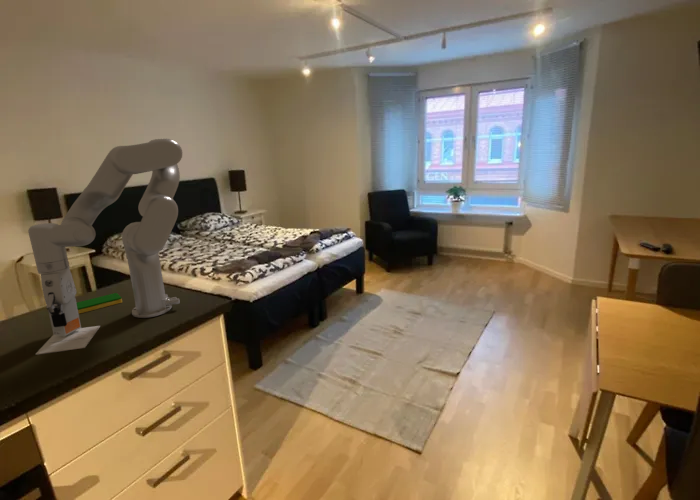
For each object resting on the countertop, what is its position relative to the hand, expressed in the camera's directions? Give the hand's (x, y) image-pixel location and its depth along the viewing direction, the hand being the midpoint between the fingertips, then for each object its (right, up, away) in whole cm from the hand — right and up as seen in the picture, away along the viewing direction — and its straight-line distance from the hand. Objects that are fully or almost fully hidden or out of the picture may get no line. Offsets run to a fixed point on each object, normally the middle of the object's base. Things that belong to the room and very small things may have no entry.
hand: (65, 320), depth 116 cm
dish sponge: (-5, +1, +23) cm, 24 cm away
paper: (+3, -6, -2) cm, 6 cm away
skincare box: (0, -4, +1) cm, 4 cm away
